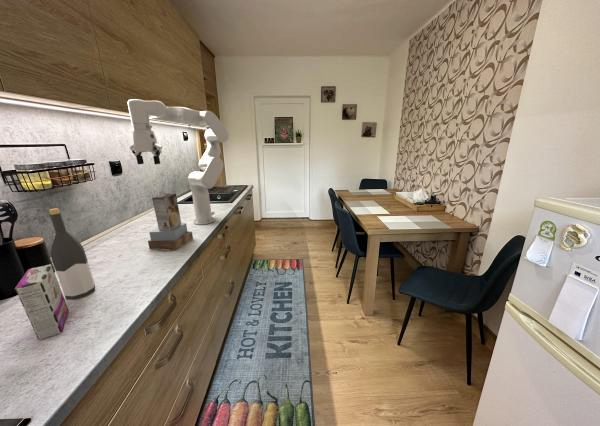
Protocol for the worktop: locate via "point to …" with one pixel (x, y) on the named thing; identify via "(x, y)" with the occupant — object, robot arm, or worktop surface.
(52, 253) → the wine bottle
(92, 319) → the worktop surface
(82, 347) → the worktop surface
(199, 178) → the robot arm
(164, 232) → the tower top slab
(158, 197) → the coffee box
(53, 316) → the candy bar box
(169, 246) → the tower base slab
